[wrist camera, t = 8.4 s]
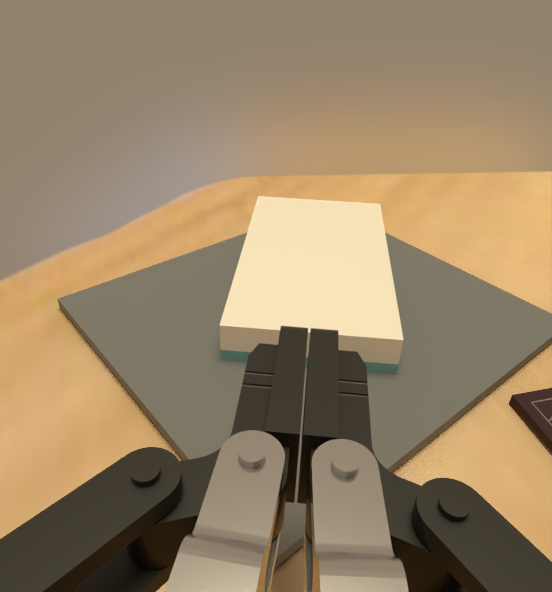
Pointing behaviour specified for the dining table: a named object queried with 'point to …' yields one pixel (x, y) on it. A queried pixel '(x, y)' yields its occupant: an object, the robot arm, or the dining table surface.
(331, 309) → the tile
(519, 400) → the chocolate bar
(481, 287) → the mat
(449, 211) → the dining table surface
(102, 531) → the robot arm
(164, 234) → the dining table surface
